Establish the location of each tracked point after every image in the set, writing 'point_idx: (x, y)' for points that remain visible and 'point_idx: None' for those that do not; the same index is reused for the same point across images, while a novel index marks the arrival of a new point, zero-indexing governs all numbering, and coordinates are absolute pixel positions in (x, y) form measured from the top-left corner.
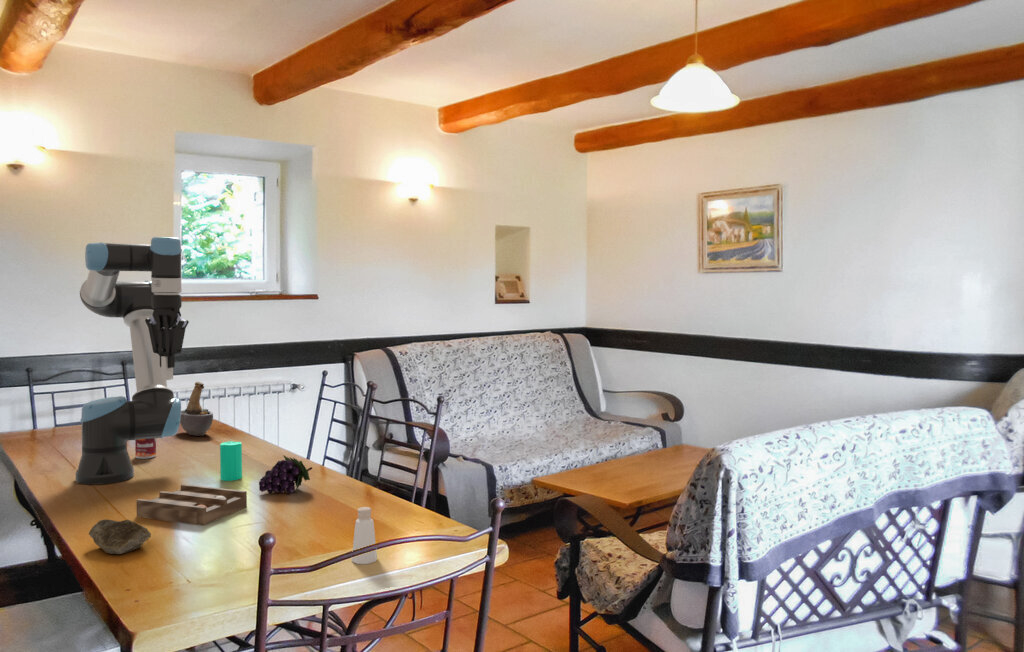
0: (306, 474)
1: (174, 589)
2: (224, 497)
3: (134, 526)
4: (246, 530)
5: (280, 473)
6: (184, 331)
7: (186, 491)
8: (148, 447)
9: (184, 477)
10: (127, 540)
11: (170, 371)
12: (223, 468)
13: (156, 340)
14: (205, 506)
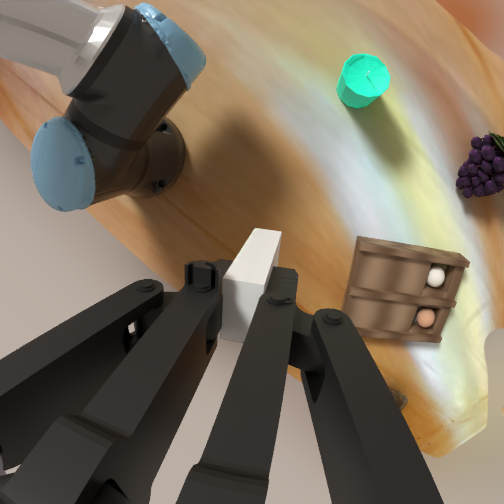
0: None
1: (446, 430)
2: (443, 277)
3: None
4: (477, 330)
5: (497, 188)
6: (429, 487)
7: (374, 256)
8: None
9: (266, 104)
10: None
11: (275, 263)
12: (354, 103)
13: (108, 375)
14: (433, 319)
